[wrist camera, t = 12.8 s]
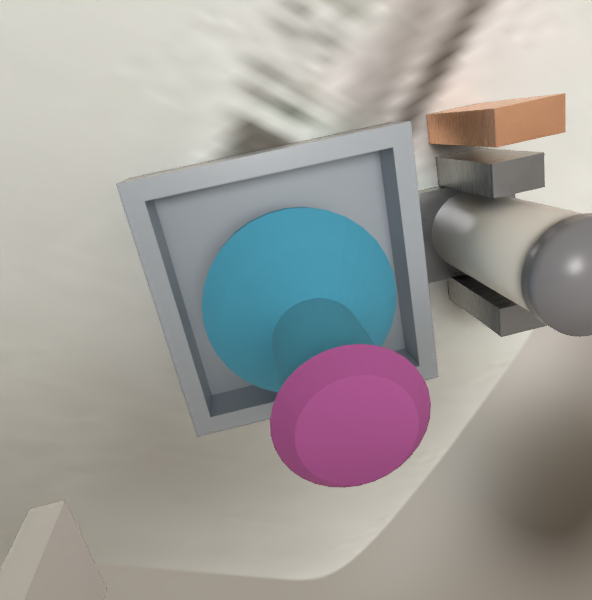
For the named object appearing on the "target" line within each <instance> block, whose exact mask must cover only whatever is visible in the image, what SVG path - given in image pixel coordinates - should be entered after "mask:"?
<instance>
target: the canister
mask: <svg viewBox="0 0 592 600" xmlns="http://www.w3.org/2000/svg"><path fill="white" fill-rule="evenodd" d="M432 241H433V245H434V248H435V250H436V252H437V254H438V255H439V256H440V257H441V258H442V259H443V260H444V261H445V262H447V263H449V264H450V265H452V266H454V267H455V268H457V269H459V270H460V271H462V272H464V273H466V274H467V275H469V276H471V277H472V278H474V279H476V280H477V281H479V282H481V283H482V284H484V285H486V286H488V287H489V288H491V289H493V290H494V291H496V292H498V293H499V294H501V295H503V296H504V297H506V298H508V299H510V300H511V301H513V302H515V303H516V304H518V305H520V306H521V307H523V308H525V309H526V310H528V311H530V312H531V313H532V314H533V315H534V316H535V317H536V318H537V319H538V320H540V321H542V322H543V323H545V324H547V325H548V326H550V327H552V328H553V329H555V330H557V331H559V332H561V333H563V334H566V335H570V336H589V335H592V213H591V214H582V213H578V212H574V211H569V210H565V209H560V208H556V207H552V206H547V205H543V204H538V203H534V202H530V201H525V200H521V199H516V198H512V197H508V196H502V197H497V198H490V197H486V196H482V195H478V194H474V193H470V192H466V191H463V192H460V193H458V194H456V195H454V196H453V197H451V198H450V199H449V200H447V201H446V202H445V203H444V204H443V206H442V207H441V208H440V210H439V211H438V213H437V215H436V217H435V219H434V222H433V226H432Z"/></svg>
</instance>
